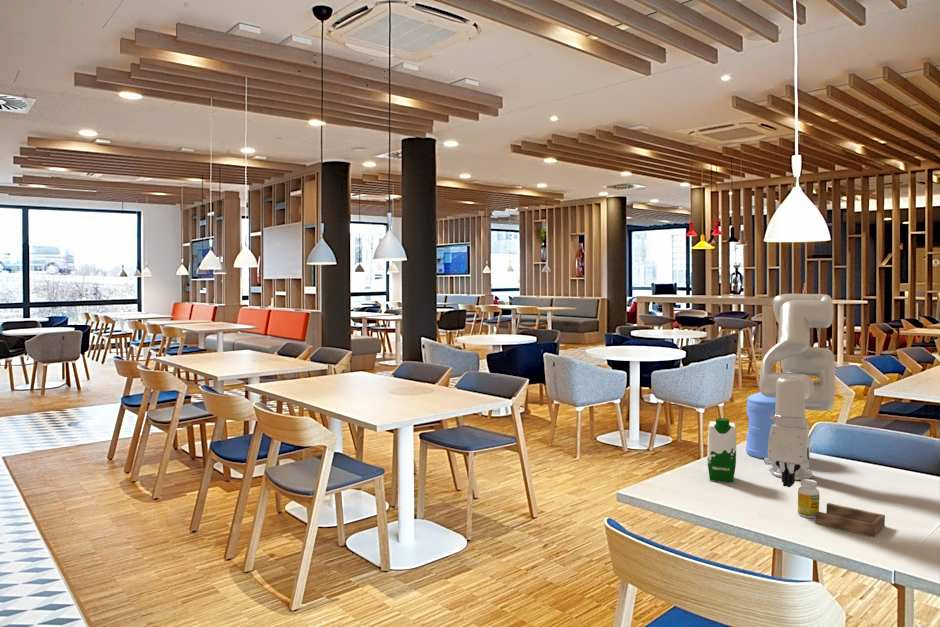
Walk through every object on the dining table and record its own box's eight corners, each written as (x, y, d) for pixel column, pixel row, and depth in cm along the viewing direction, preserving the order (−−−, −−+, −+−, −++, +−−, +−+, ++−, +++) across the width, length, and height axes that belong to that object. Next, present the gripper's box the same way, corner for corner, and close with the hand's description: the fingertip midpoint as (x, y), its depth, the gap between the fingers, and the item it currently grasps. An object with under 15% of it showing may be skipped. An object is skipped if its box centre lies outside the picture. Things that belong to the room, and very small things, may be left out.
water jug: (802, 458, 250) (804, 381, 248) (765, 462, 246) (767, 383, 244) (771, 448, 265) (773, 375, 263) (736, 451, 261) (738, 376, 259)
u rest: (815, 523, 187) (815, 512, 187) (827, 513, 194) (828, 502, 194) (873, 537, 177) (874, 525, 177) (884, 526, 185) (885, 515, 184)
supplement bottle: (804, 510, 197) (805, 477, 196) (822, 516, 192) (823, 482, 192) (793, 514, 194) (794, 480, 193) (811, 520, 189) (812, 485, 189)
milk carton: (706, 481, 224) (708, 419, 223) (707, 473, 232) (708, 414, 231) (736, 484, 221) (737, 421, 220) (735, 476, 230) (736, 416, 228)
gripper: (757, 419, 198) (756, 483, 199) (813, 427, 187) (811, 494, 189) (768, 415, 203) (766, 477, 204) (822, 423, 193) (820, 488, 194)
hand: (788, 485), depth 196 cm, fingers closed
